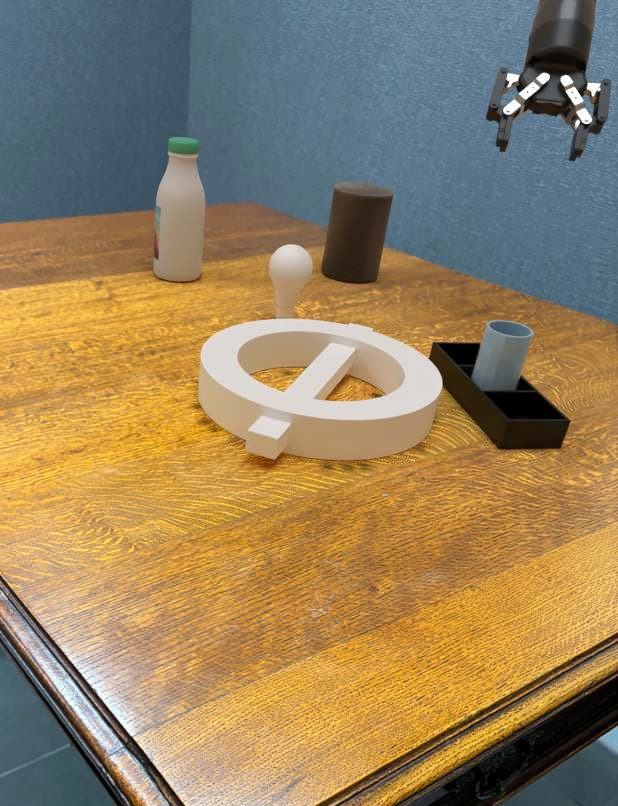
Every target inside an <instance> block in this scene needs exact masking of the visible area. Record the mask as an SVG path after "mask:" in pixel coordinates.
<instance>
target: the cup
mask: <svg viewBox="0 0 618 806" xmlns="http://www.w3.org/2000/svg"><path fill="white" fill-rule="evenodd" d="M534 336H535V332H534V329H532V328H531V327H530V326H527V325H525V324H523V323H520V322H517V321H513V320H506V319H493V320H489V321H487V322H486V323H485V326H484V330H483V334H482V337H481V341H480V343H481V344H480V347H479V351H478V354H477V358H476V361H475V365H474V368H473V372H472V375H471V380H472V381H473V382H474V383H475V384H476V385H477V386H478V387H479V388H480V389H481V390H482V391H516V389H517V386H518V382H519V379H520V376H521V375H522V372H523V370H524V366H525V364H526V361H527V357H528V355H529V351H530V348H531V345H532V342H533V338H534Z"/></svg>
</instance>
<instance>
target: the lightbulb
mask: <svg viewBox="0 0 618 806" xmlns="http://www.w3.org/2000/svg"><path fill="white" fill-rule="evenodd" d="M313 269H314V264H313V259H312V257H311V254H310V253H309V251H308V250H306V249H305V248H304V247H302V246H301V245H298V244H294V243H293V244H292V243H291V244H290V243H289V244H285V245H282V246H280V247H279V248H277V249H276V250H275V251H274V252H273V254H272V255H271V256H270V258H269V262H268V274H269V276H270V280H271V284H272V285H273V289H274V295H275V298H274V304H275V319H294V314H295V309H296V307H297V305H298V301H299V297H300V294H301V293H302V291H303V289H304V288H305V287H306V285H307V284H308V282H309V280H310V279H311V277H312V274H313Z"/></svg>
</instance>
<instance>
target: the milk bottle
mask: <svg viewBox="0 0 618 806" xmlns="http://www.w3.org/2000/svg"><path fill="white" fill-rule="evenodd" d="M199 151H200V141H199V140H198V139H196V138H192V137H187V136H186V137H185V136H172V137H169V138H168V141H167V155H168V161H167V166H166V169H165V172H164V174H163V176H162V179H161V181H160V183H159V186H158V189H157V193H156V198H155V208H154V209H155V210H154V211H155V212H154V233H153V234H154V235H153V236H154V237H153V263H152V264H153V265H152V267H153V273H154V276H156V277H157V278H159V279H162V280H165V281H168V282H169V281H170V282H176V283H177V282H178V283H179V282H181V283H182V282H183V283H184V282H185V283H187V282H192V281H193V282H194V281H196V280H198V279H199V278H200V277H201V274H202V265H203V253H204V252H203V251H204V236H205V222H206V221H205V220H206V219H205V218H206V195H205V190H204V185H203V183H202V179H201V177H200V173H199V169H198V162H197V161H198V158H199V156H200V155H199Z"/></svg>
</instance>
